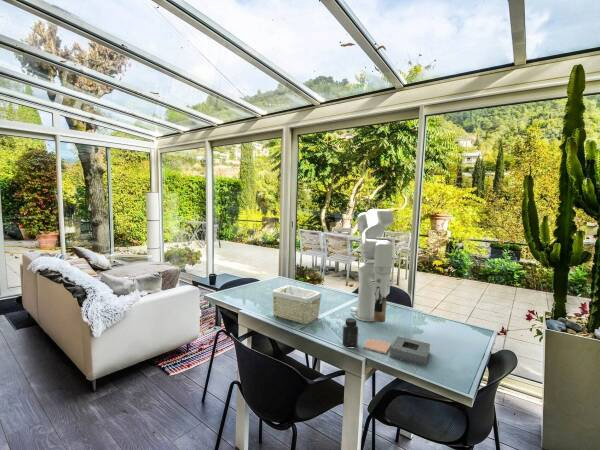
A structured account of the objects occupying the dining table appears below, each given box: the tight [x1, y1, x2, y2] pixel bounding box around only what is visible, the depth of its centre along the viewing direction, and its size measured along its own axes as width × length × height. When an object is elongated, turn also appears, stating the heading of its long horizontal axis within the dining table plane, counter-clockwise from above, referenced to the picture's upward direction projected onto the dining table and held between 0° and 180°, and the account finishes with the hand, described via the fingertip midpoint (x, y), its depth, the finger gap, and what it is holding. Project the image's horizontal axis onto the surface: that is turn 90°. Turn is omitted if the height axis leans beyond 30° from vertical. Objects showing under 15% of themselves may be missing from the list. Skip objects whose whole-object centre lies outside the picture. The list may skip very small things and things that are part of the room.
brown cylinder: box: [373, 297, 387, 323], centre depth 139 cm, size 5×5×10 cm
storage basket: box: [271, 284, 323, 325], centre depth 172 cm, size 24×16×15 cm
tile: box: [362, 338, 392, 355], centre depth 140 cm, size 10×10×1 cm
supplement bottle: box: [341, 317, 359, 348], centre depth 140 cm, size 7×7×12 cm
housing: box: [389, 335, 431, 367], centre depth 134 cm, size 14×14×4 cm
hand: (379, 309), depth 139 cm, fingers closed on brown cylinder, 5 cm apart
